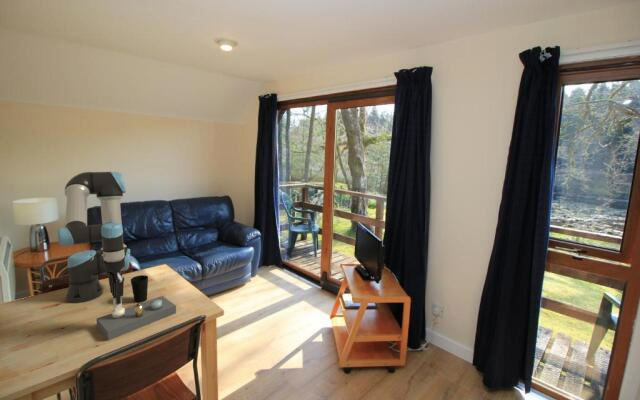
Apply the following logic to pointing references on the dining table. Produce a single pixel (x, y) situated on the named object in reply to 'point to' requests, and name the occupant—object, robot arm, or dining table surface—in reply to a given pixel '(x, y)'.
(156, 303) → the knob
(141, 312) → the trim post
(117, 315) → the knob
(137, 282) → the cup
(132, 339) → the dining table surface
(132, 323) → the panel
